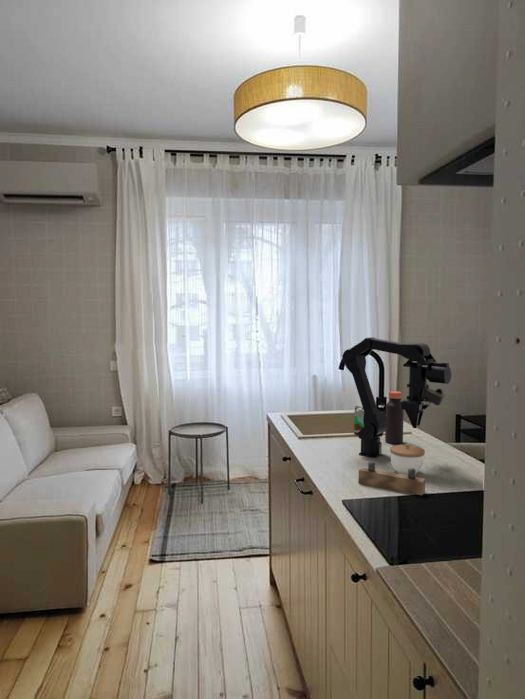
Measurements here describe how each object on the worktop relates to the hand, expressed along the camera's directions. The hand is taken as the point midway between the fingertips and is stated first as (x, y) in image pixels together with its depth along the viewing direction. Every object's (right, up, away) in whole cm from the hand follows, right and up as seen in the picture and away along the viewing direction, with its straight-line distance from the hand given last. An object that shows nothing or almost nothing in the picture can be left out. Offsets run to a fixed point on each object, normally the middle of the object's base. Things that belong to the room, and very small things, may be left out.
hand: (416, 426), depth 169 cm
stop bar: (-14, -15, -21) cm, 29 cm away
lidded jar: (-5, -14, -7) cm, 17 cm away
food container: (-9, -9, +46) cm, 48 cm away
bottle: (0, -11, +29) cm, 31 cm away
